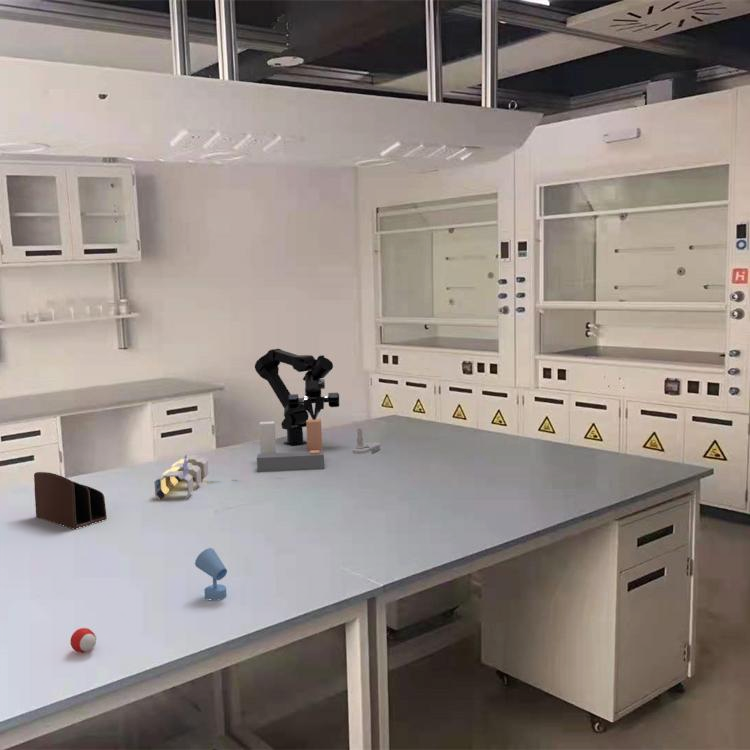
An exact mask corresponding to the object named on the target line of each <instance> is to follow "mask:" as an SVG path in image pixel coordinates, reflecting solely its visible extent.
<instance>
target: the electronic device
mask: <svg viewBox="0 0 750 750" xmlns="http://www.w3.org/2000/svg"><path fill="white" fill-rule="evenodd" d="M356 432H357V433H356V434H357V438H356V441H357V446H355V447H354V448H353V449H352V453H353V454H355V455H361V454H362V455H363V454H368V453H369V452H371V454H373V453H375V452H378V451H380V449H381V446H380V445H381V444H380V443H379V442H367V443H365V444H364V438H363V428H357V431H356Z"/></svg>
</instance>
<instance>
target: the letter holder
mask: <svg viewBox="0 0 750 750" xmlns="http://www.w3.org/2000/svg"><path fill="white" fill-rule="evenodd" d="M33 481H34V484H33V485H34V499H35V503H34V505H35V516H36V518H37V517H38V519H41V518H42V519H41V520H44V519H45V521H47V520H48V522H50V521H51V523H53V522H55V523H54V524H56V523H58V524H57V525H59V524H61V525H60V526H62V525H64V526H63V527H66V526H67V527H66V528H69V527H71V528H70V529H72V528H74V529H73V530H77V529H76V528H79V527H82V528H84V527H83V526H85V527H87V526H86V525H88V526H91V525H90V524H92V523H95V522H98V523H100V522H99V521H101V522H103V521H102V520H105V519H107V518H108V517H107V508H106V499H105V496H104V493H103V492H102V491H100V490H98V489H96V488H93V487H90V486H88V485H84V484H81V483H78V482H76V481H72V480H70V479H69V478H66V477H65V476H62V475H60V474H56V473H53V472H49V471H48V472H46V471H45V472H44V471H38V472H37V471H36V472H35V473H34V474H33ZM105 521H106V520H105ZM95 524H96V523H95ZM92 525H93V524H92ZM79 529H80V528H79Z"/></svg>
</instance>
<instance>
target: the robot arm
mask: <svg viewBox="0 0 750 750" xmlns="http://www.w3.org/2000/svg"><path fill="white" fill-rule="evenodd" d="M281 363H283V364H286V365H289V366H292V368H293V370H295V371H296V372H298V373H301V372H302V373H303V372H305V374H304V376H303V378H302V380H303V381H304V382H305V385H304V386H305V387H304V395H305V396H303V397H301V398H300V397H299V394H298V393H297V394H293V393H292V394H291V392H290V391H289V389H288V387H287V386H286V385H285V382H284V381H283V380H282V377H281V376H280V374H279V371H280V370H279V368H280V367H279V365H280V364H281ZM254 369H255V372H256V373H257V374H258V375H259V377H260V378H262V379H263V380H264V381H265V380H266V381H267V382H268V384H269V386H270V387H271V389H272V390H273V393H274V394H275V396H276V397H277V399H278V401H279V402H280V404H281V406H282V407H283V410H284V411H283V416H284V419H283V420H282V422H281V423H280V424H281V428H282V429H283V430H286V436H287V440H286V441H284V442H283V443H284V444H286V445H289V446H298V445H304V444H307V440H304V432H303V428H307V426H306V420H309V415H310V417H311V420H316V419H317V418H318V415H319V413H320V412H321V411H322V410H324V409H325V403H328V406H329V407H330V408H339V407H340V393H339V392H328V393H327V394H328V395H327V396H322V390H323V389H324V390H325V387H326V385H325V379H324V378H325V377H326V376H327V375H328V374H329V373H330V372H331V371H332V370H333V369H334V364H333V362H332V361H331V360H330V359H328V358H326V357H325V355H321V354H320V355H318V356H317V358H315V356H313V355H310V354H305V355H304V354H303V355H298V354H295V353H292V352H289V351H286V350H283V349H281V348H272V349H270V350H268V351H267V353H265V354H264V355H263V356H261V357H260V358H259V359H257V360H256V362H255V364H254ZM313 404H314V406H313ZM313 407H314V409H313Z"/></svg>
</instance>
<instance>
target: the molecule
mask: <svg viewBox="0 0 750 750" xmlns="http://www.w3.org/2000/svg"><path fill="white" fill-rule="evenodd" d="M69 642H70V646H71V648H72V649H73V650H74V651H75V652H77V653H86V652H90V651H91V650H93V649H94V648H95V646H96V644H97V634H96V633H95V632H94V631H92V630H91V629H90V628H88V627H87V628H86V627H81V628H77V629H76V630H75V631H74V632H73V633H72V635H71V636H70V641H69Z"/></svg>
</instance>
